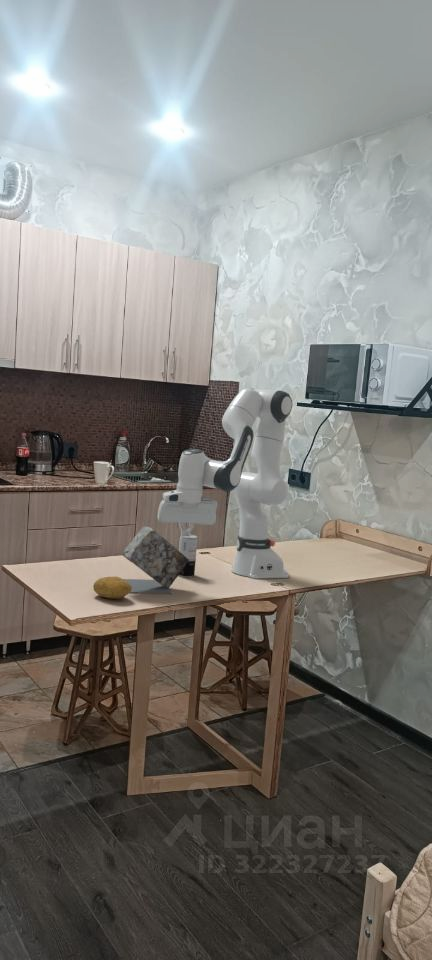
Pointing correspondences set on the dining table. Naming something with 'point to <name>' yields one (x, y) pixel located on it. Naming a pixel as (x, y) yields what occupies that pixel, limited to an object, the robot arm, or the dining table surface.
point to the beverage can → (188, 554)
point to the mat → (147, 587)
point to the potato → (112, 587)
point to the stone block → (155, 556)
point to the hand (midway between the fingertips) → (185, 535)
